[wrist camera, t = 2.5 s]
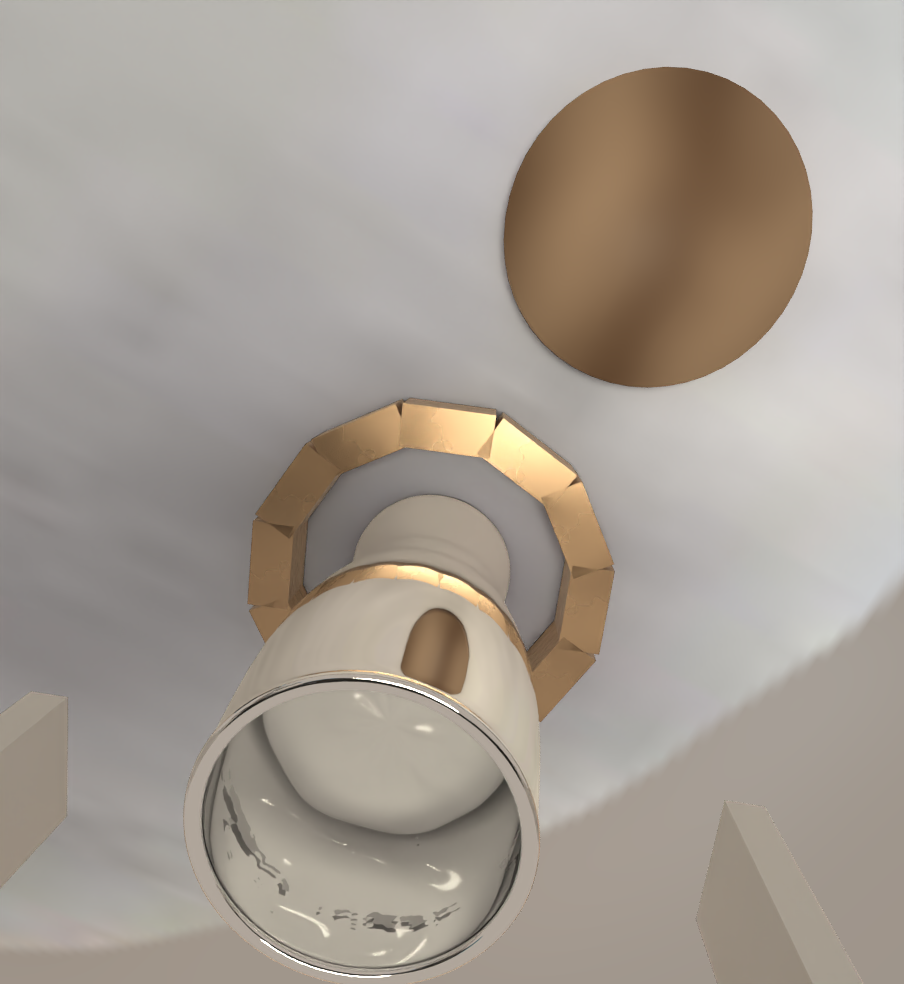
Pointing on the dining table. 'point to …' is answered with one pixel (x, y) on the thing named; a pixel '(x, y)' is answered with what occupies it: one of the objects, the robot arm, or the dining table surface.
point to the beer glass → (379, 763)
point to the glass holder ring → (457, 432)
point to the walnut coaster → (658, 227)
